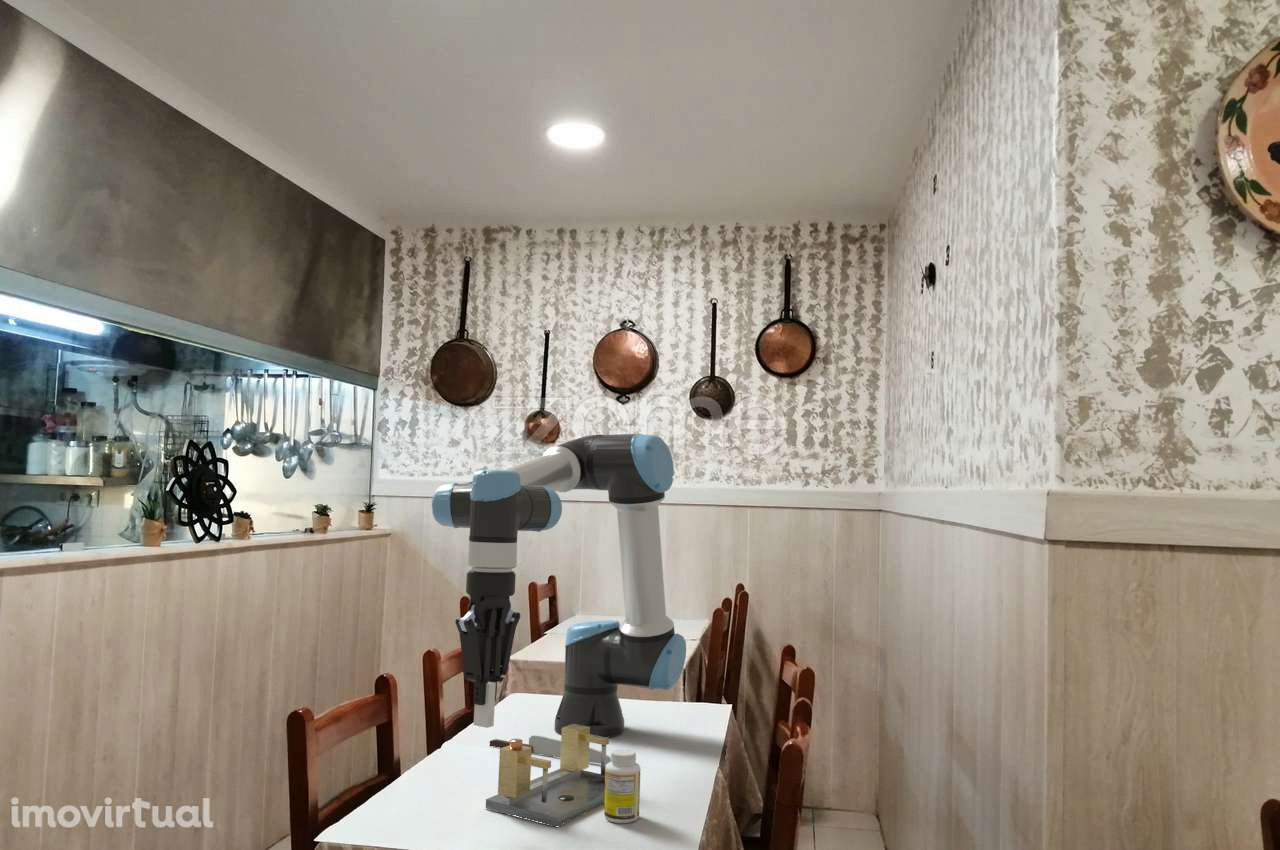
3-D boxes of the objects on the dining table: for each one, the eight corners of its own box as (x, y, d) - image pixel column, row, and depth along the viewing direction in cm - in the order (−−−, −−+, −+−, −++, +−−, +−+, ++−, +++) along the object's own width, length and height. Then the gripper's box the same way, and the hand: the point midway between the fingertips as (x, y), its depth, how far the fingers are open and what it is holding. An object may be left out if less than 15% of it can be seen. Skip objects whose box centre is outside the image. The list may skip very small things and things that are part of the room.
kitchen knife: (489, 730, 178) (623, 748, 165) (493, 728, 179) (626, 746, 166) (489, 751, 177) (623, 771, 165) (492, 750, 178) (625, 770, 166)
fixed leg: (571, 764, 159) (573, 723, 159) (611, 773, 154) (612, 731, 155) (560, 769, 156) (561, 727, 156) (600, 778, 151) (601, 735, 152)
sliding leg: (512, 789, 144) (514, 736, 145) (554, 799, 140) (556, 744, 141) (497, 795, 141) (500, 741, 142) (540, 805, 137) (542, 749, 137)
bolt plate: (565, 774, 161) (565, 760, 161) (631, 789, 153) (631, 774, 154) (485, 809, 142) (486, 792, 142) (556, 827, 135) (557, 810, 135)
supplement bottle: (619, 809, 143) (622, 744, 144) (646, 818, 140) (648, 751, 141) (596, 818, 139) (598, 751, 140) (623, 827, 136) (625, 758, 136)
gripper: (499, 566, 145) (492, 714, 143) (444, 569, 134) (435, 729, 132) (536, 569, 142) (529, 721, 139) (482, 573, 130) (474, 738, 128)
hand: (483, 725), depth 136 cm, fingers closed
